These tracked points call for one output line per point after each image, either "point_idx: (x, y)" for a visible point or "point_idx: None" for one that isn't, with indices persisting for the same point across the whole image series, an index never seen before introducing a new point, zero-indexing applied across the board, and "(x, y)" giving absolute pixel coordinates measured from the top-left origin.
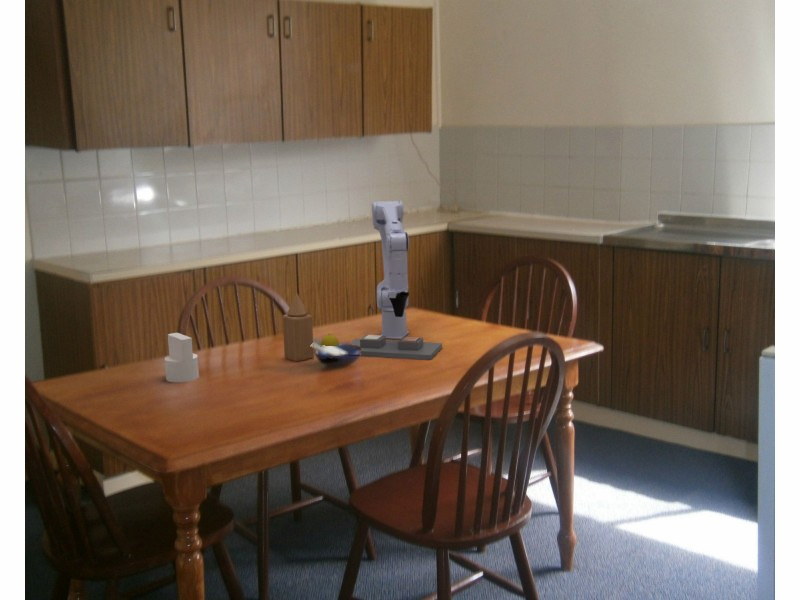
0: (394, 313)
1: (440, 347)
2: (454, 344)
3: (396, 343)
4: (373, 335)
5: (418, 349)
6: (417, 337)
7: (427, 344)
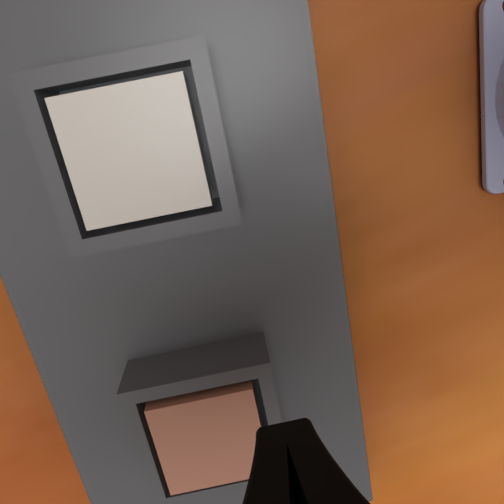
0: (255, 450)
1: None
2: (449, 496)
3: (268, 277)
4: (185, 131)
5: None
6: None
7: None
